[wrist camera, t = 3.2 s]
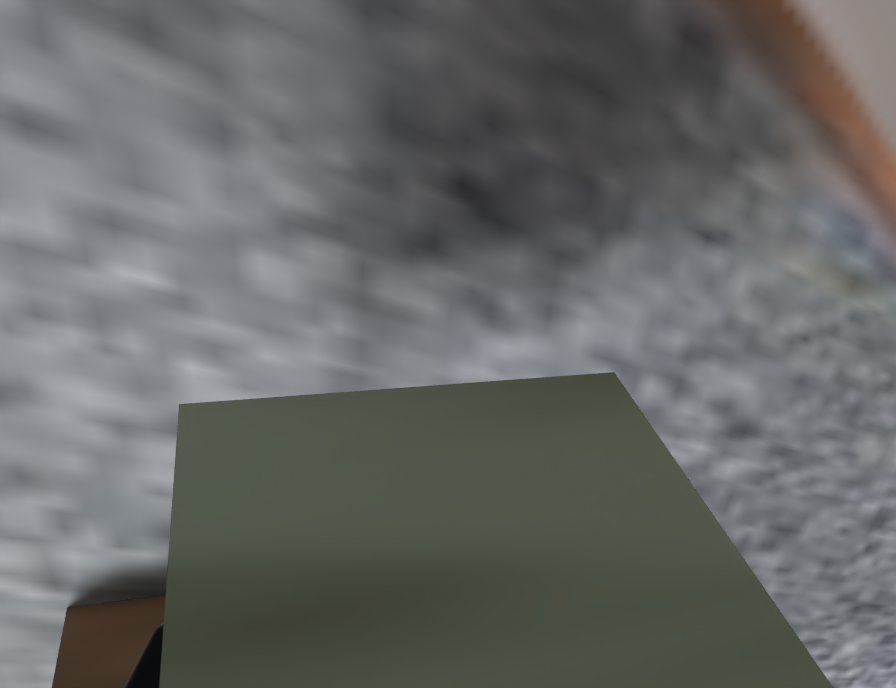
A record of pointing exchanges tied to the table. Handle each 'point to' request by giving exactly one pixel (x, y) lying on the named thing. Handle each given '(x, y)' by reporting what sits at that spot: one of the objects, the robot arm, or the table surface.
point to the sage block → (455, 548)
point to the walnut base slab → (105, 642)
